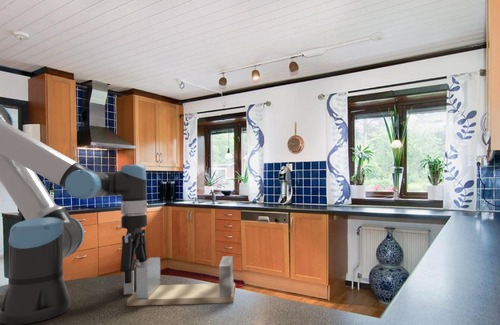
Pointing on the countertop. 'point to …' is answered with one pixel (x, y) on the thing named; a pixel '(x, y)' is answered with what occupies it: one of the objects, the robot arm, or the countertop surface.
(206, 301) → the vise
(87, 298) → the countertop surface
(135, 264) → the vase
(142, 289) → the block
